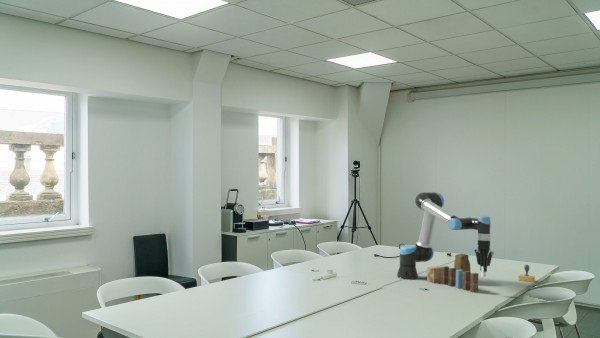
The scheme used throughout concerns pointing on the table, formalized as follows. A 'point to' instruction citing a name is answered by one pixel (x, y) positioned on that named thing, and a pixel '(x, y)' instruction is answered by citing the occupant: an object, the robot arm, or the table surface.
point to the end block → (434, 274)
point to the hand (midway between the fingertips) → (483, 276)
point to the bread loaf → (462, 262)
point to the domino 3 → (459, 278)
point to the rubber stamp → (526, 275)
